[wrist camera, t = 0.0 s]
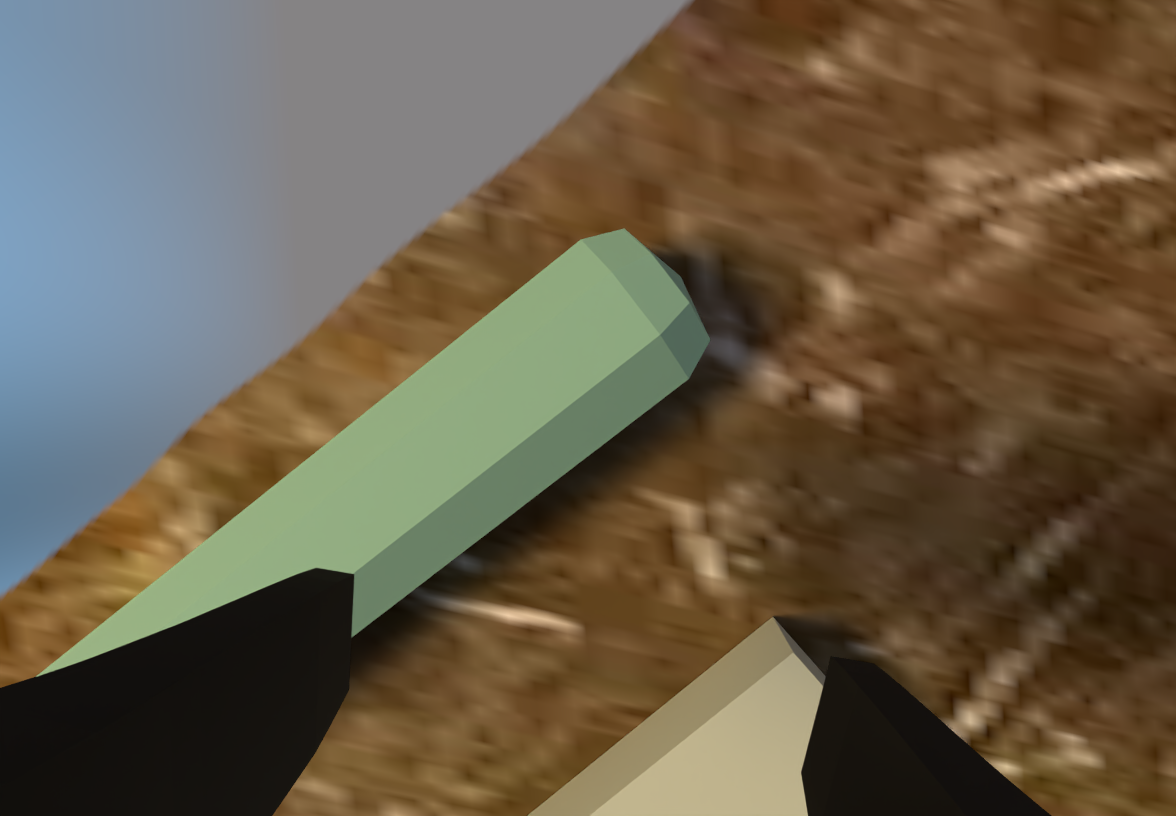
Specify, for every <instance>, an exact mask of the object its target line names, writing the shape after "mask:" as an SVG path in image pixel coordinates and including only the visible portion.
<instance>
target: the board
mask: <svg viewBox="0 0 1176 816" xmlns="http://www.w3.org/2000/svg"><path fill="white" fill-rule="evenodd" d="M825 677H826V676H825V675H824V674H823V673H822V672H821V670H820V669H819V668H818V667H817V666H816V665H815V664H814V663H813V661H812V660H811V659H810V658H809V657H808V656H807V655H806V653H805V652H804V651H803V650H802V649H801V648H800V647H799V646H798V644H797V643H796V642H795V641H794V640H793V639H792V638H791V636H790V635H789V634H788V633H787V632H786V631H785V630H784V629H783V627H782V626H781V625H780V624H779V623H778V622H777V621H776V620H775V618H774V617H772V618H771V619H769V620H768V621H767V622H766V623H764V624H763V625H762V626H761V627H759V628H758V629H757V630H756V631H754V632H753V633H752V634H751V635H750V636H748V637H747V638H746V639H745V640H743V641H742V642H741V643H740V644H738V645H737V646H736V647H735V648H734V649H732V650H731V651H730V652H729V653H727V654H726V655H725V656H724V657H722V658H721V659H720V660H719V661H717V662H716V663H715V664H714V665H713V666H711V667H710V668H709V669H708V670H706V671H705V672H704V673H703V674H701V675H700V676H699V677H698V678H697V679H695V680H694V681H693V682H692V683H690V684H689V685H688V686H687V687H685V688H684V689H683V690H682V691H680V692H679V693H678V694H677V695H676V696H674V697H673V698H672V699H671V700H669V701H668V702H667V703H666V704H664V705H663V706H662V707H661V708H660V709H658V710H657V711H656V712H655V713H653V714H652V715H651V716H650V717H648V718H647V719H646V720H645V721H643V722H642V723H641V724H640V725H639V726H637V727H636V728H635V729H634V730H632V731H631V732H630V733H629V734H627V735H626V736H625V737H624V738H623V739H621V740H620V741H619V742H618V743H616V744H615V745H614V746H613V747H611V748H610V749H609V750H608V751H606V752H605V753H604V754H603V755H602V756H600V757H599V758H598V759H597V760H595V761H594V762H593V763H592V764H590V765H589V766H588V767H587V768H586V769H584V770H583V771H582V772H581V773H579V774H578V775H577V776H576V777H574V778H573V779H572V780H571V781H569V782H568V783H567V784H566V785H565V786H563V787H562V788H561V789H560V790H558V791H557V792H556V793H555V794H553V795H552V796H551V797H550V798H549V799H547V800H546V801H545V802H544V803H542V804H541V805H540V806H539V807H537V808H536V809H535V810H534V811H532V812H531V813H530V814H529V815H528V816H808V813H807V807H806V801H805V794H804V788H803V782H802V776H801V770H802V766H803V763H804V759H805V755H806V751H807V747H808V743H809V739H810V735H811V732H812V728H813V724H814V720H815V716H816V712H817V708H818V705H819V701H820V697H821V693H822V689H823V685H824V681H825Z"/></svg>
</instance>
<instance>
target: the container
mask: <svg viewBox="0 0 1176 816" xmlns="http://www.w3.org/2000/svg"><path fill="white" fill-rule="evenodd" d="M709 342H710V338H709V336H708V334H707V332H706V329H705V327H704V325H703V323H702V321H701V319H700V317H699V315H698V312H697V310H696V308H695V306H694V304H693V302H692V300H691V297H690V295H689V293H688V291H687V289H686V287H685V285H684V283H683V280H682V278H681V276H679V275H678V274H677V273H676V272H675V271H674V270H672V269H671V268H670V267H669V266H668V265H666V264H665V263H664V262H663V261H662V260H661V259H659V258H658V257H657V256H656V255H655V254H654V253H652V252H651V251H650V250H649V249H648V248H646V247H645V246H644V245H643V244H642V243H641V242H639V241H638V240H637V239H636V238H635V237H634V236H632V235H631V234H630V233H629V232H628V231H626V230H625V229H621V230H617V231H613V232H609V233H605V234H601V235H597V236H593V237H589V238H585V239H581V240H580V241H579V242H577V243H576V244H575V245H574V246H572V247H571V248H570V249H569V250H567V251H566V252H565V253H564V254H562V255H561V256H560V257H559V258H557V259H556V260H555V261H554V262H552V263H551V264H550V265H549V266H547V267H546V268H545V269H544V270H542V271H541V272H540V273H539V274H537V275H536V276H535V277H534V278H532V279H531V280H530V281H529V282H527V283H526V284H525V285H524V286H522V287H521V288H520V289H519V290H517V291H516V292H515V293H514V294H512V295H511V296H510V297H509V298H507V299H506V300H505V301H504V302H502V303H501V304H500V305H499V306H497V307H496V308H495V309H494V310H492V311H491V312H490V313H489V314H487V315H486V316H485V317H484V318H483V319H481V320H480V321H479V322H478V323H476V324H475V325H474V326H473V327H471V328H470V329H469V330H468V331H466V332H465V333H464V334H463V335H461V336H460V337H459V338H458V339H456V340H455V341H454V342H453V343H451V344H450V345H449V346H448V347H446V348H445V349H444V350H443V351H441V352H440V353H439V354H438V355H436V356H435V357H434V358H433V359H431V360H430V361H429V362H428V363H426V364H425V365H424V366H423V367H421V368H420V369H419V370H418V371H416V372H415V373H414V374H413V375H411V376H410V377H409V378H408V379H406V380H405V381H404V382H403V383H401V384H400V385H399V386H398V387H396V388H395V389H394V390H393V391H391V392H390V393H389V394H388V395H386V396H385V397H384V398H383V399H382V400H380V401H379V402H378V403H377V404H375V405H374V406H373V407H372V408H370V409H369V410H368V411H367V412H365V413H364V414H363V415H362V416H360V417H359V418H358V419H357V420H355V421H354V422H353V423H352V424H350V425H349V426H348V427H347V428H345V429H344V430H343V431H342V432H340V433H339V434H338V435H337V436H335V437H334V438H333V439H332V440H330V441H329V442H328V443H327V444H325V445H324V446H323V447H322V448H320V449H319V450H318V451H317V452H315V453H314V454H313V455H312V456H310V457H309V458H308V459H307V460H305V461H304V462H303V463H302V464H300V465H299V466H298V467H297V468H295V469H294V470H293V471H292V472H290V473H289V474H288V475H287V476H286V477H284V478H283V479H282V480H281V481H279V482H278V483H277V484H276V485H274V486H273V487H272V488H271V489H269V490H268V491H267V492H266V493H264V494H263V495H262V496H261V497H259V498H258V499H257V500H256V501H254V502H253V503H252V504H251V505H249V506H248V507H247V508H246V509H244V510H243V511H242V512H241V513H239V514H238V515H237V516H236V517H234V518H233V519H232V520H231V521H229V522H228V523H227V524H226V525H224V526H223V527H222V528H221V529H219V530H218V531H217V532H216V533H214V534H213V535H212V536H211V537H209V538H208V539H207V540H206V541H204V542H203V543H202V544H201V545H199V546H198V547H197V548H196V549H194V550H193V551H192V552H191V553H190V554H188V555H187V556H186V557H185V558H183V559H182V560H181V561H180V562H178V563H177V564H176V565H175V566H173V567H172V568H171V569H170V570H168V571H167V572H166V573H165V574H163V575H162V576H161V577H160V578H158V579H157V580H156V581H155V582H153V583H152V584H151V585H150V586H148V587H147V588H146V589H145V590H143V591H142V592H141V593H140V594H138V595H137V596H136V597H135V598H133V599H132V600H131V601H130V602H128V603H127V604H126V605H125V606H123V607H122V608H121V609H120V610H118V611H117V612H116V613H115V614H113V615H112V616H111V617H110V618H108V619H107V620H106V621H105V622H103V623H102V624H101V625H100V626H98V627H97V628H96V629H95V630H93V631H92V632H91V633H90V634H89V635H87V636H86V637H85V638H84V639H82V640H81V641H80V642H79V643H77V644H76V645H75V646H74V647H72V648H71V649H70V650H69V651H67V652H66V653H65V654H64V655H62V656H61V657H60V658H59V659H57V660H56V661H55V662H54V663H52V664H51V665H50V666H49V667H47V668H46V669H45V670H44V671H42V672H41V673H40V674H39V675H37V676H40V675H43V674H46V673H49V672H52V671H55V670H58V669H60V668H63V667H66V666H69V665H72V664H75V663H78V662H81V661H83V660H86V659H89V658H92V657H94V656H97V655H100V654H102V653H105V652H107V651H110V650H113V649H115V648H118V647H120V646H123V645H125V644H128V643H131V642H133V641H136V640H138V639H141V638H144V637H146V636H149V635H151V634H154V633H156V632H159V631H162V630H164V629H167V628H169V627H172V626H175V625H177V624H180V623H182V622H184V621H187V620H189V619H191V618H194V617H196V616H199V615H201V614H203V613H206V612H208V611H210V610H213V609H215V608H217V607H220V606H222V605H225V604H227V603H229V602H232V601H234V600H236V599H239V598H241V597H243V596H246V595H248V594H250V593H253V592H255V591H257V590H260V589H262V588H264V587H267V586H269V585H272V584H274V583H276V582H279V581H281V580H284V579H286V578H289V577H291V576H294V575H296V574H299V573H302V572H304V571H307V570H311V569H314V568H322V569H327V570H333V571H339V572H345V573H351V574H354V594H353V615H352V636H351V638H352V637H353V636H354V635H356V634H357V633H358V632H360V631H361V630H362V629H363V628H365V627H366V626H367V625H369V624H370V623H371V622H373V621H374V620H375V619H376V618H378V617H379V616H380V615H382V614H383V613H384V612H386V611H387V610H388V609H389V608H391V607H392V606H393V605H395V604H396V603H397V602H399V601H400V600H401V599H403V598H404V597H405V596H406V595H408V594H409V593H410V592H412V591H413V590H414V589H416V588H417V587H418V586H419V585H421V584H422V583H423V582H425V581H426V580H427V579H429V578H430V577H431V576H433V575H434V574H435V573H436V572H438V571H439V570H440V569H442V568H443V567H444V566H446V565H447V564H448V563H449V562H451V561H452V560H453V559H455V558H456V557H457V556H459V555H460V554H461V553H462V552H464V551H465V550H466V549H468V548H469V547H470V546H472V545H473V544H474V543H476V542H477V541H478V540H479V539H481V538H482V537H483V536H485V535H486V534H487V533H489V532H490V531H491V530H492V529H494V528H495V527H496V526H498V525H499V524H500V523H502V522H503V521H504V520H506V519H507V518H508V517H509V516H511V515H512V514H513V513H515V512H516V511H517V510H519V509H520V508H521V507H522V506H524V505H525V504H526V503H528V502H529V501H530V500H532V499H533V498H534V497H535V496H537V495H538V494H539V493H541V492H542V491H543V490H545V489H546V488H547V487H549V486H550V485H551V484H552V483H554V482H555V481H556V480H558V479H559V478H560V477H562V476H563V475H564V474H565V473H567V472H568V471H569V470H571V469H572V468H573V467H575V466H576V465H577V464H578V463H580V462H581V461H582V460H584V459H585V458H586V457H588V456H589V455H590V454H592V453H593V452H594V451H595V450H597V449H598V448H599V447H601V446H602V445H603V444H605V443H606V442H607V441H608V440H610V439H611V438H612V437H614V436H615V435H616V434H618V433H619V432H620V431H622V430H623V429H624V428H625V427H627V426H628V425H629V424H631V423H632V422H633V421H635V420H636V419H637V418H638V417H640V416H641V415H642V414H644V413H645V412H646V411H648V410H649V409H650V408H651V407H653V406H654V405H655V404H657V403H658V402H659V401H661V400H662V399H663V398H665V397H666V396H667V395H668V394H670V393H671V392H672V391H674V390H675V389H676V388H678V387H679V386H680V385H681V384H683V383H684V382H685V381H687V380H688V379H689V378H690V376H691V374H692V372H693V370H694V369H695V367H696V365H697V363H698V362H699V360H700V358H701V356H702V354H703V353H704V351H705V349H706V347H707V345H708V344H709ZM37 676H36V677H37Z"/></svg>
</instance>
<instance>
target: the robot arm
mask: <svg viewBox="0 0 1176 816" xmlns="http://www.w3.org/2000/svg"><path fill="white" fill-rule="evenodd" d="M353 594H354V574H351V573H345V572H339V571H333V570H327V569H322V568H314V569H311V570H307V571H304V572H302V573H299V574H296V575H294V576H291V577H289V578H286V579H284V580H281V581H279V582H276V583H274V584H272V585H269V586H267V587H264V588H262V589H260V590H257V591H255V592H253V593H250V594H248V595H246V596H243V597H241V598H239V599H236V600H234V601H232V602H229V603H227V604H225V605H222V606H220V607H217V608H215V609H213V610H210V611H208V612H206V613H203V614H201V615H199V616H196V617H194V618H191V619H189V620H187V621H184V622H182V623H180V624H177V625H175V626H172V627H169V628H167V629H164V630H162V631H159V632H156V633H154V634H151V635H149V636H146V637H144V638H141V639H138V640H136V641H133V642H131V643H128V644H125V645H123V646H120V647H118V648H115V649H113V650H110V651H107V652H105V653H102V654H100V655H97V656H94V657H92V658H89V659H86V660H83V661H81V662H78V663H75V664H72V665H69V666H66V667H63V668H60V669H58V670H55V671H52V672H49V673H46V674H43V675H40V676H37V677H34V678H30V679H27V680H24V681H21V682H18V683H15V684H11V685H8V686H5V687H2V688H0V816H272V815H273V814H274V812H275V811H276V809H277V808H278V807H279V805H280V804H281V802H282V801H283V799H284V798H285V796H286V795H287V794H288V792H289V791H290V789H291V788H292V786H293V785H294V783H295V782H296V780H297V779H298V778H299V776H300V775H301V773H302V772H303V770H304V769H305V767H306V766H307V764H308V763H309V761H310V760H311V758H312V757H313V755H314V754H315V752H316V751H317V749H318V747H319V745H320V743H321V741H322V740H323V738H324V736H325V734H326V732H327V731H328V729H329V727H330V725H331V723H332V721H333V719H334V717H335V716H336V714H337V712H338V710H339V708H340V706H341V704H342V702H343V700H344V698H345V696H346V694H347V692H348V690H349V678H350V657H351V636H352V615H353ZM801 776H802V782H803V788H804V794H805V801H806V807H807V813H808V816H1051V815H1050V814H1049V813H1047V812H1046V811H1045V810H1044V809H1042V808H1041V807H1040V806H1039V805H1038V804H1036V803H1035V802H1034V801H1033V800H1032V799H1030V798H1029V797H1028V796H1027V795H1026V794H1025V793H1023V792H1022V791H1021V790H1020V789H1019V788H1017V787H1016V786H1015V785H1014V784H1013V783H1011V782H1010V781H1009V780H1008V779H1007V778H1006V777H1004V776H1003V775H1002V774H1001V773H1000V772H999V771H997V770H996V769H995V768H994V767H993V766H992V765H991V764H989V763H988V762H987V761H986V760H985V759H984V758H983V757H981V756H980V755H979V754H978V753H977V752H976V751H975V750H973V749H972V748H971V747H970V746H969V745H968V744H967V743H965V742H964V741H963V740H962V739H961V738H960V737H959V736H958V735H956V734H955V733H954V732H953V731H952V730H951V729H950V728H949V727H947V726H946V725H945V724H944V723H943V722H942V721H941V720H940V719H938V718H937V717H936V716H935V715H934V714H933V713H932V712H931V711H929V710H928V709H927V708H926V707H925V706H924V705H923V704H922V703H920V702H919V701H918V700H917V699H916V698H915V697H914V696H912V695H911V694H910V693H909V692H908V691H907V690H906V689H904V688H903V687H902V686H901V685H900V684H899V683H897V682H896V681H895V680H894V679H893V678H891V677H890V676H889V675H888V674H887V673H885V672H884V671H883V670H881V669H880V668H879V667H877V666H876V665H875V664H873V663H867V662H861V661H856V660H850V659H844V658H838V657H832V656H831V658H830V662H829V666H828V670H827V674H826V677H825V681H824V685H823V689H822V693H821V697H820V701H819V705H818V708H817V712H816V716H815V720H814V724H813V728H812V732H811V735H810V739H809V743H808V747H807V751H806V755H805V759H804V763H803V766H802V770H801Z"/></svg>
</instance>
